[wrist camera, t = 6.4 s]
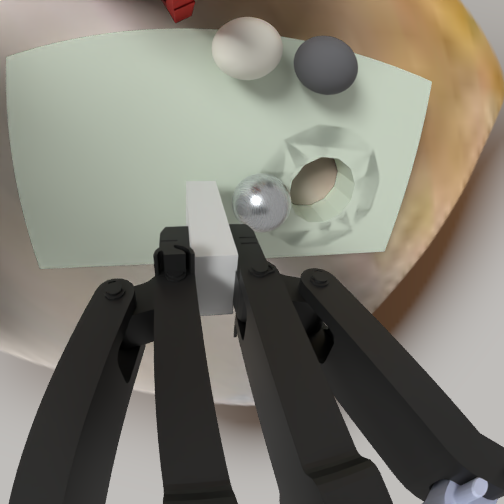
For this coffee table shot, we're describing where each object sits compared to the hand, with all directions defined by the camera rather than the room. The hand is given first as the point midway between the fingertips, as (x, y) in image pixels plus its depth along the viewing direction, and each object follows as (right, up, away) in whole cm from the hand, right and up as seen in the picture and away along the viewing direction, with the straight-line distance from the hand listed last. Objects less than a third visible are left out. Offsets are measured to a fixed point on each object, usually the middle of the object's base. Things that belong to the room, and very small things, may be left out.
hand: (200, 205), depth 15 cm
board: (+1, +4, +2) cm, 5 cm away
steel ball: (+3, 0, +1) cm, 3 cm away
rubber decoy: (+6, +7, -3) cm, 10 cm away
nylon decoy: (+3, +7, -4) cm, 8 cm away
